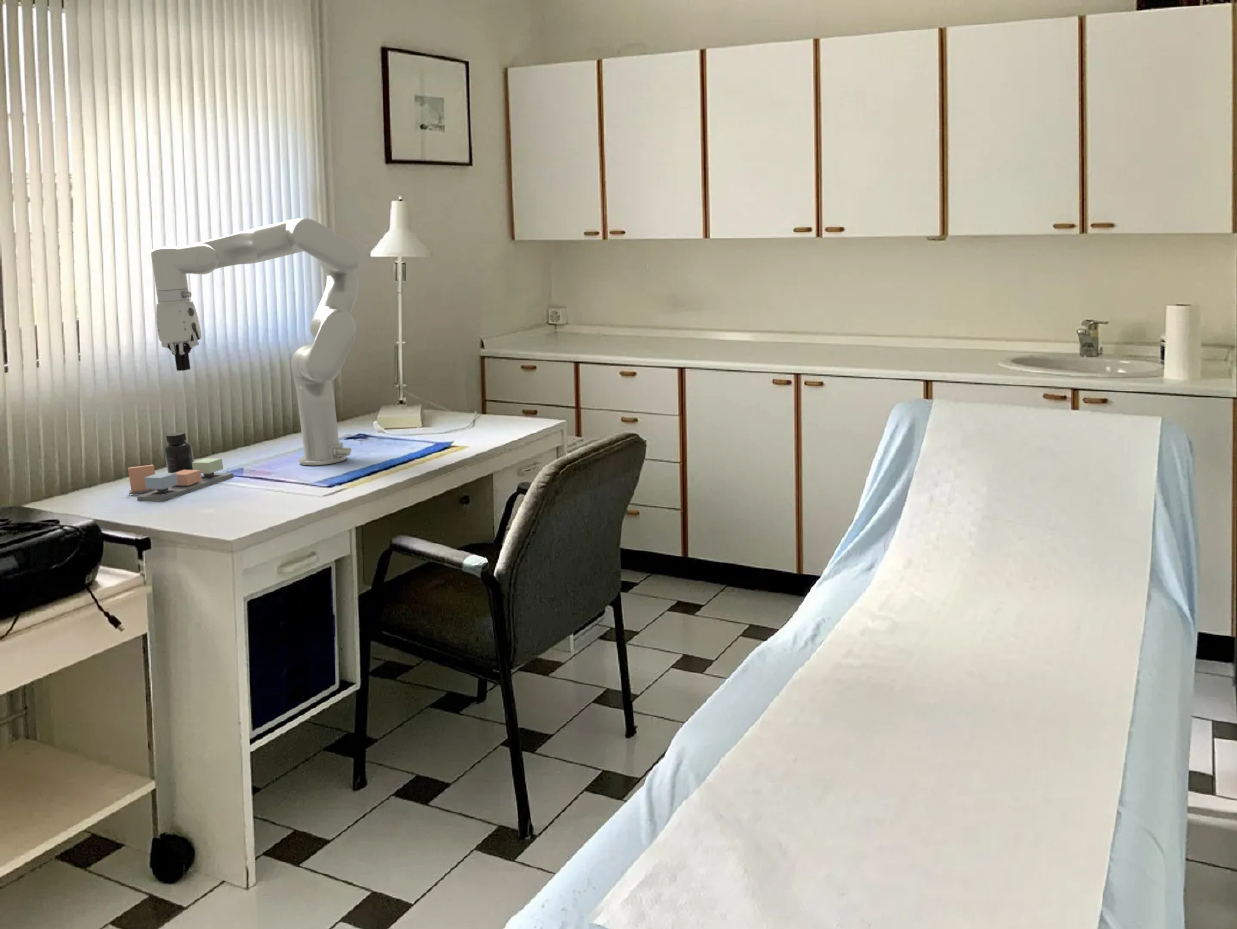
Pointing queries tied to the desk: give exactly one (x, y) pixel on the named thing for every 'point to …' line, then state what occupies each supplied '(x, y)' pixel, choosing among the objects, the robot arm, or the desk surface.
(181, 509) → the desk surface
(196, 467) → the button sage
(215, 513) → the desk surface
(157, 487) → the button slate
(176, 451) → the supplement bottle
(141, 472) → the upright salmon panel
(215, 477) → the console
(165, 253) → the robot arm
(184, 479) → the button terracotta
